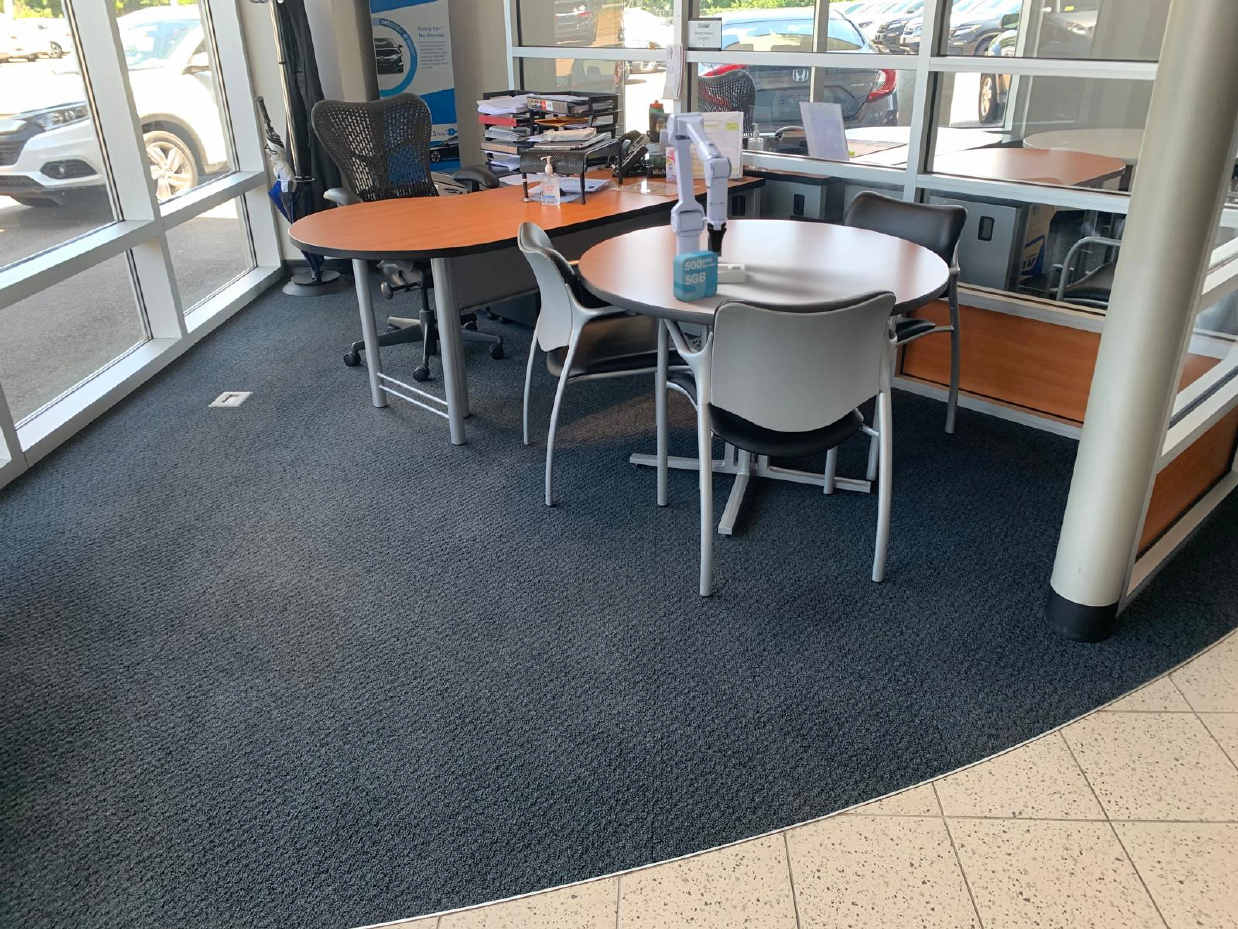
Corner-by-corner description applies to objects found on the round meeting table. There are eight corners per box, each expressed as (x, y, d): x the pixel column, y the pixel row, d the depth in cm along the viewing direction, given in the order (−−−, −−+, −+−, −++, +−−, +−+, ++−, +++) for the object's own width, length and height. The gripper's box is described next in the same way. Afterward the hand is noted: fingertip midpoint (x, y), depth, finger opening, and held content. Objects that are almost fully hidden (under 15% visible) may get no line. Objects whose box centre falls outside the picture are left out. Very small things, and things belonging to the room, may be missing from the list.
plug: (707, 253, 267) (707, 234, 265) (721, 253, 267) (721, 234, 265) (707, 256, 264) (707, 237, 261) (721, 256, 263) (721, 237, 261)
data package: (682, 302, 248) (682, 258, 242) (672, 298, 251) (672, 255, 246) (717, 295, 253) (718, 252, 248) (707, 291, 256) (708, 248, 251)
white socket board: (683, 273, 274) (683, 263, 272) (743, 273, 272) (743, 262, 271) (683, 283, 265) (683, 272, 263) (745, 282, 263) (745, 271, 262)
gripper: (702, 197, 265) (702, 243, 271) (703, 207, 252) (702, 255, 259) (727, 197, 265) (725, 243, 271) (728, 206, 252) (727, 255, 258)
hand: (716, 249), depth 265 cm, fingers closed on plug, 4 cm apart
